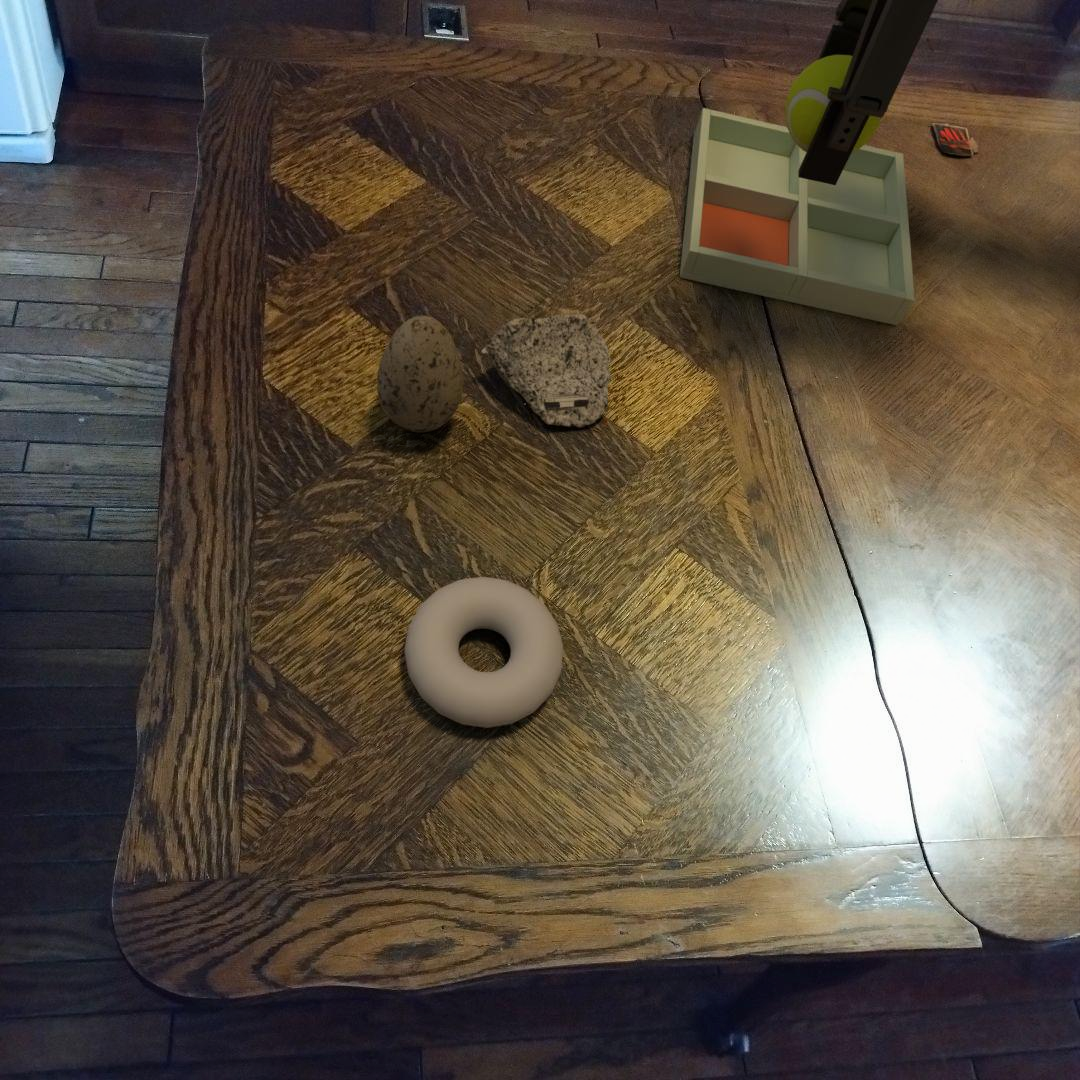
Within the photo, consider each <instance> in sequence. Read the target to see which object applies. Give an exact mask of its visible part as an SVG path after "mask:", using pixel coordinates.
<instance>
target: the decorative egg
mask: <svg viewBox="0 0 1080 1080" xmlns="http://www.w3.org/2000/svg"><path fill="white" fill-rule="evenodd" d="M463 372H464V371H463V367H462V361H461V358H460V354H459V351H458V349H457V346H456V343H455V340H454V339H453V338H452V335H451V334H450V332H449V331H448V329H447V328H446V327H445V326H444V325H443V323H441V322H440V321H439V320H438V319H436V318H434V317H431V316H429V315H416V316H414V317H411V318H409V319H407V320H406V321H404V322H403V323H402V324H401V325H400V326H399V327H398V328H397V329H396V330H395V332H394V333H393V334H392V336H391V338H390V339H389V341H388V342H387V344H386V346H385V348H384V351H383V354H382V356H381V359H380V361H379V366H378V369H377V378H376V388H377V396H378V400H379V403H380V405H381V407H382V409H383V412H384V413H385V414H386V416H387V417H388V418H389V420H391V421H392V422H393V423H394V424H395V425H396V426H398V427H399V428H401V429H403V430H405V431H409V432H413V433H427V432H428V433H429V432H432V431H434V430H437V429H439V428H441V427H442V426H444V425H445V424H446V423H447V422H448V421H450V420H451V419H452V417H453V416H454V415H455V413H456V412H457V410H458V408H459V405H460V403H461V400H462V396H463V389H464V373H463Z"/></svg>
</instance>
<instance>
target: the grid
mask: <svg viewBox="0 0 1080 1080" xmlns="http://www.w3.org/2000/svg"><path fill="white" fill-rule="evenodd" d="M805 155H806V152H805V151H803V150H802V149H801V148H800V147H799V146H798V145H797V144H796V143H795V141H794V140H793V139H792V137H791V135H790V133H789V131H788V128H787V126H784V125H779V124H775V123H771V122H766V121H761V120H757V119H753V118H749V117H744V116H740V115H736V114H733V113H727V112H723V111H718V110H715V109H714V110H713V109H710V108H706V107H702V109H701V112H700V116H699V118H698V121H697V124H696V127H695V130H694V133H693V138H692V150H691V157H690V158H691V159H690V168H689V180H688V189H687V197H686V209H685V219H684V230H683V238H682V247H681V248H682V250H681V259H680V268H679V278H680V279H684V280H689V281H693V282H699V283H702V284H708V285H710V286H711V285H712V286H715V287H720V288H725V289H730V290H734V291H737V292H738V291H739V292H744V293H748V294H752V295H756V296H761V297H767V298H771V299H775V300H779V301H783V302H788V303H793V304H797V305H803V306H806V307H812V308H816V309H820V310H824V311H825V310H826V311H829V312H833V313H839V314H842V315H848V316H851V317H856V318H861V319H865V320H870V321H875V322H878V323H879V322H880V323H884V324H888V325H893V326H897V327H898V326H899V325H900V323H902V321H903V319H904V317H905V316H906V314H907V313H908V311H909V310H910V309H911V307H912V305H913V304H914V303H915V299H916V298H915V287H914V274H913V273H914V272H913V261H912V260H913V259H912V250H911V249H912V247H911V236H910V223H909V210H908V198H907V186H906V185H907V184H906V172H905V162H904V153H901V152H898V151H892V150H887V149H883V148H880V147H876V146H871V145H866V144H865V145H864V146H862V147H861V148H860V149H858V150H856V151H854V152H852V153H851V155H850V157H849V159H848V161H847V163H846V165H845V167H844V169H843V171H842V173H841V175H840V177H839V179H838V181H837V183H836V185H831V184H827V183H822V182H818V181H813V180H808V179H804V178H799V177H798V170H799V168H800V166H801V164H802V161H803V159H804V157H805Z"/></svg>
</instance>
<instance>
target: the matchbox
mask: <svg viewBox="0 0 1080 1080" xmlns="http://www.w3.org/2000/svg"><path fill="white" fill-rule="evenodd" d="M928 125H929V126H932V127H933V129H934V130H933V131H934V134H935V136H936V138H934V141H937V144H938V145H939V148H940V149H941V151H942V152H943V153H945V154H949V155H956V156H961V157H968V156H974V154H977V153H979V152H980V149H981V147H980V146H979V144H978V143H977V141H976V140H975V139H974V137H970V135H969V129H968V128H967V127H961V126H957V125H951V124H949V123H947V122H945V123H938V122H933V123H928V124H927V126H928Z"/></svg>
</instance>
